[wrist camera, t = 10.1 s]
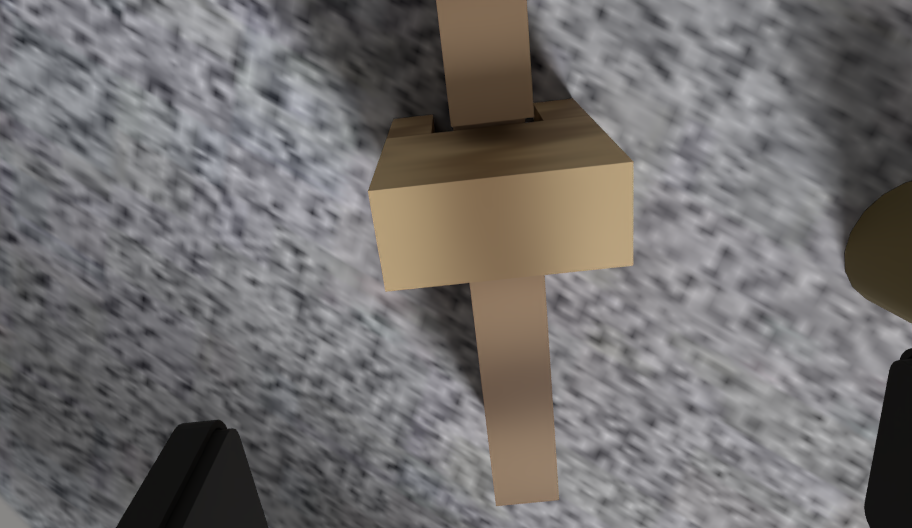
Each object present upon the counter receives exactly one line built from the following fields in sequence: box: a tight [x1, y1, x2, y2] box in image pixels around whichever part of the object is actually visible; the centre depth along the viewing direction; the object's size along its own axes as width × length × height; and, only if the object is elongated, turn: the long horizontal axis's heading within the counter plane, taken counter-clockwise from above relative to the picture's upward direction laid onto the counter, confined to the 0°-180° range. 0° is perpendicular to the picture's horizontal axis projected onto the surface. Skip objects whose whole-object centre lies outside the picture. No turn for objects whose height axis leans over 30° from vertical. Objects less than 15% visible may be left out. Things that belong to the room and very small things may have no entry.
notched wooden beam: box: [436, 0, 559, 506], centre depth 23 cm, size 26×2×6 cm, turn 7°
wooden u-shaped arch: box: [368, 98, 633, 292], centre depth 22 cm, size 7×3×9 cm, turn 96°
